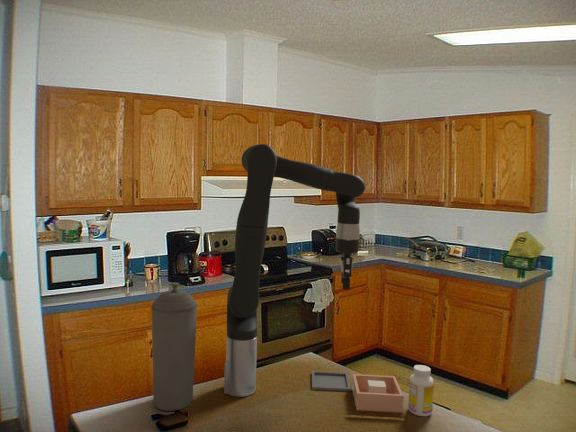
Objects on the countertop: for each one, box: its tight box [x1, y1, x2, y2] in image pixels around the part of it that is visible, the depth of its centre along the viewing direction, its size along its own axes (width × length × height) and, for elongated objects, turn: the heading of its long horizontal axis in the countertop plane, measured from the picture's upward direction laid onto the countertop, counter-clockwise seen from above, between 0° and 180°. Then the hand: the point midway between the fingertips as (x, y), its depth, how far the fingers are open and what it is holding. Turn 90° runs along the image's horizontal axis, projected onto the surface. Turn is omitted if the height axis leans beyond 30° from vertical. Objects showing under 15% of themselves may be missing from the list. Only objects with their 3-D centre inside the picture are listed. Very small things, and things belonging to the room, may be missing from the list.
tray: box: [311, 370, 352, 393], centre depth 146 cm, size 12×12×1 cm
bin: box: [351, 373, 404, 414], centre depth 134 cm, size 13×13×6 cm
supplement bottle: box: [408, 364, 435, 417], centre depth 129 cm, size 7×7×13 cm
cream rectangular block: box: [367, 380, 386, 394], centre depth 134 cm, size 5×4×5 cm
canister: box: [150, 281, 198, 412], centre depth 129 cm, size 13×13×35 cm
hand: (345, 286), depth 148 cm, fingers open, 8 cm apart
